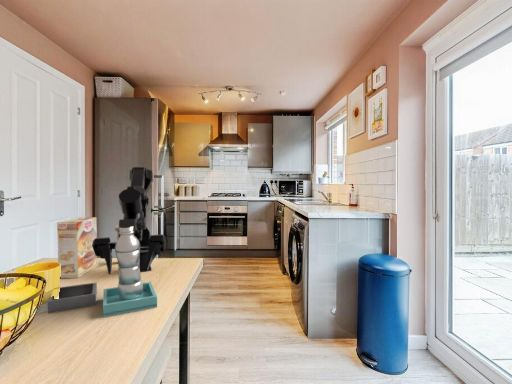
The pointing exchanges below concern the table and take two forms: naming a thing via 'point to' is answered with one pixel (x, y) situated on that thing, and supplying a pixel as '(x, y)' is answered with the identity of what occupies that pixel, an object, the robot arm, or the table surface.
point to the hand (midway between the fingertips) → (128, 271)
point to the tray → (128, 301)
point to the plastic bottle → (128, 264)
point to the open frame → (73, 297)
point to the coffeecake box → (76, 246)
